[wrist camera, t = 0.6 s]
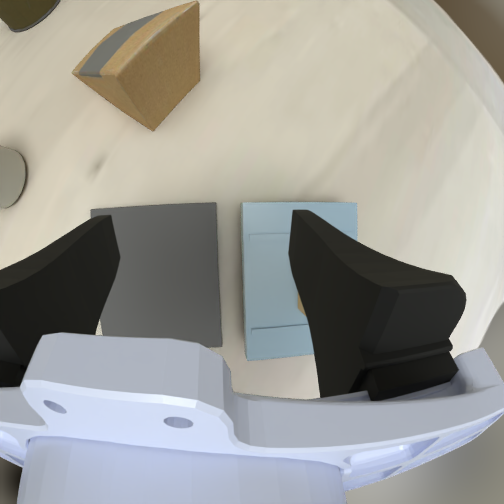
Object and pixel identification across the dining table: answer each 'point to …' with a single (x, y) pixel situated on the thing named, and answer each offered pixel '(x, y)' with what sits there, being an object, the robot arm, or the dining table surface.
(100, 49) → the sandwich container
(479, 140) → the dining table surface
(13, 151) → the can
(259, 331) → the lid
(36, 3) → the canister
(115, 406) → the robot arm
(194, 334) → the mat
